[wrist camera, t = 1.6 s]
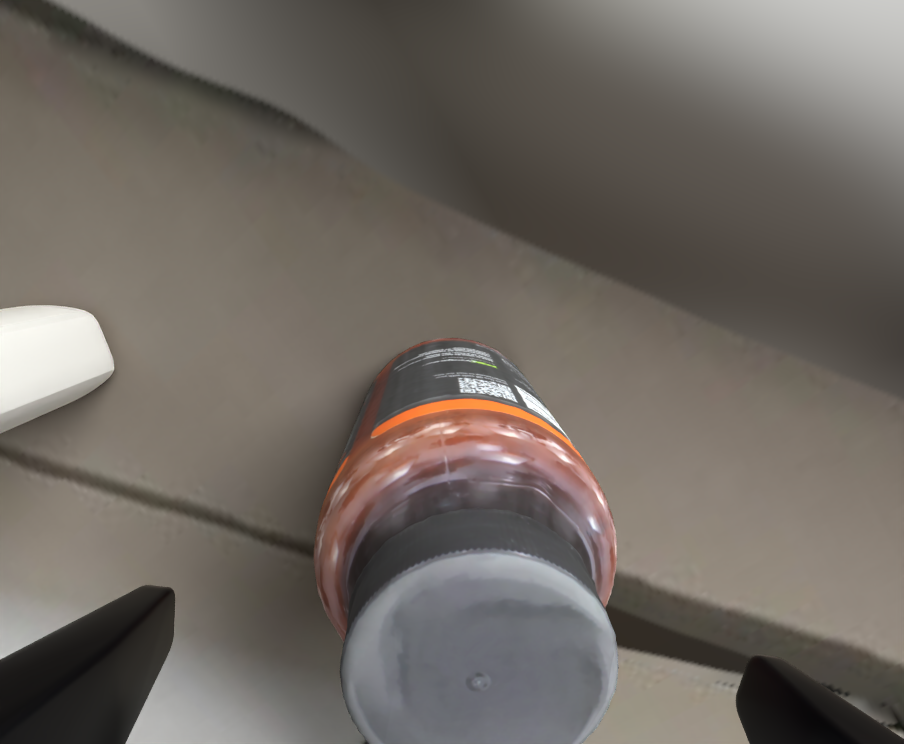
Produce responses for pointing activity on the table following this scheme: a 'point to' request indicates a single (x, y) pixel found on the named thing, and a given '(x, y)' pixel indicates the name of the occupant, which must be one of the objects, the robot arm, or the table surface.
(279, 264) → the table surface
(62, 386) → the eye dropper bottle
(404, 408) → the supplement bottle
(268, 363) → the table surface
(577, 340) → the table surface
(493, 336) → the table surface
